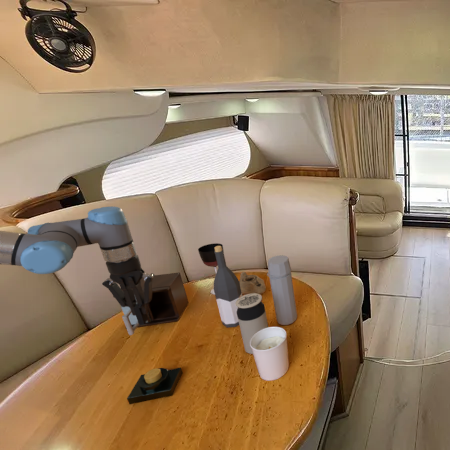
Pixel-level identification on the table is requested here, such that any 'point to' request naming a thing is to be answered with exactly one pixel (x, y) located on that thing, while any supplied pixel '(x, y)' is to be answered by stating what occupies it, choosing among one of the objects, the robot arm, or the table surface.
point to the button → (152, 375)
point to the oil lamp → (251, 284)
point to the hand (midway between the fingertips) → (143, 321)
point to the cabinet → (165, 299)
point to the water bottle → (282, 289)
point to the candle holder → (270, 352)
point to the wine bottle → (226, 290)
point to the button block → (155, 386)
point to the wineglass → (209, 256)
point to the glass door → (131, 320)
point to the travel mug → (251, 317)
